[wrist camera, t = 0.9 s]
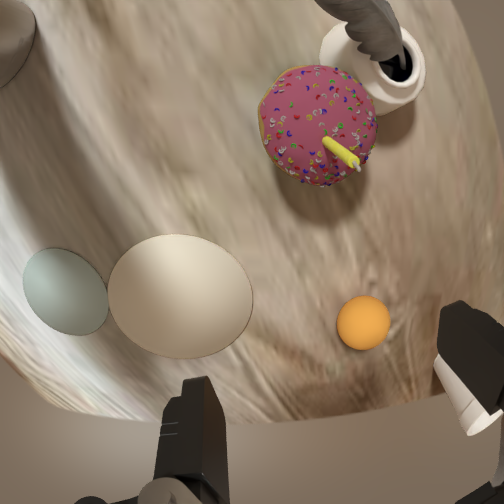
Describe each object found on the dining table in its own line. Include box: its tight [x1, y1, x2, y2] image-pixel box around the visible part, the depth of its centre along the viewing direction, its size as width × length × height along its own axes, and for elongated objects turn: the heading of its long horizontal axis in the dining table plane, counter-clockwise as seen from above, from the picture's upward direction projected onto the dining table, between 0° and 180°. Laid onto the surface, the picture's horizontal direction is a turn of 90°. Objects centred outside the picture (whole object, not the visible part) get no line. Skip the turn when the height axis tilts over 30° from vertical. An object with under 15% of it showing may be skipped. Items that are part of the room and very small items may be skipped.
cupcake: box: [258, 65, 378, 187], centre depth 19 cm, size 9×8×12 cm
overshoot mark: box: [23, 248, 109, 335], centre depth 27 cm, size 10×10×1 cm
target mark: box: [108, 234, 253, 359], centre depth 29 cm, size 14×14×1 cm
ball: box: [337, 296, 390, 350], centre depth 30 cm, size 6×6×6 cm
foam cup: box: [433, 354, 503, 436], centre depth 34 cm, size 10×9×13 cm
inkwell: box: [315, 0, 426, 116], centre depth 17 cm, size 9×18×10 cm, turn 65°
